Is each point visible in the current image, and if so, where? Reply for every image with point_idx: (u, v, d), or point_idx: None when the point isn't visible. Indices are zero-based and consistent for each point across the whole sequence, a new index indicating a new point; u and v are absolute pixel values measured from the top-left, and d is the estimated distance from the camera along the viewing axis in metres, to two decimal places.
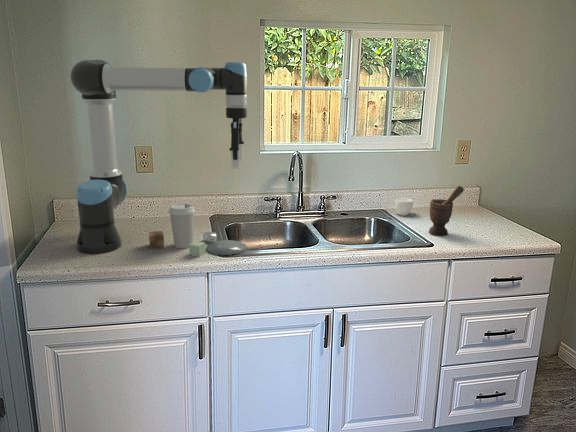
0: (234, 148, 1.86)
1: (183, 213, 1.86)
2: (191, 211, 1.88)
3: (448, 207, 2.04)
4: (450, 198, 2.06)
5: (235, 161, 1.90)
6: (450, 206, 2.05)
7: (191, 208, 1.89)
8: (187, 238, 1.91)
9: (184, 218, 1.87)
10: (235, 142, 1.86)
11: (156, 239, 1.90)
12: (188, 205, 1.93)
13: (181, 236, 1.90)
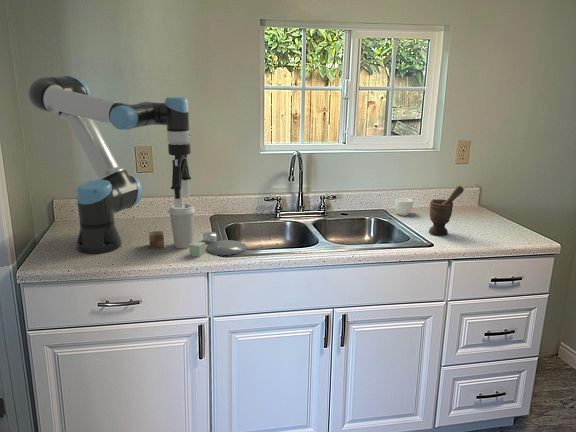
0: (175, 187, 1.78)
1: (183, 213, 1.86)
2: (191, 211, 1.88)
3: (448, 207, 2.04)
4: (450, 198, 2.06)
5: (178, 200, 1.82)
6: (450, 206, 2.05)
7: (191, 208, 1.89)
8: (187, 238, 1.91)
9: (184, 218, 1.87)
10: (176, 181, 1.78)
11: (156, 239, 1.90)
12: (188, 205, 1.93)
13: (181, 236, 1.90)
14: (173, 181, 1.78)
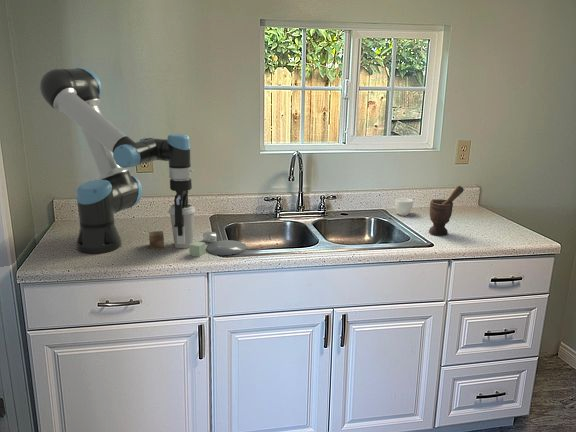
0: (178, 226, 1.84)
1: (183, 213, 1.86)
2: (191, 211, 1.88)
3: (448, 207, 2.04)
4: (450, 198, 2.06)
5: (180, 237, 1.88)
6: (450, 206, 2.05)
7: (191, 208, 1.89)
8: (187, 238, 1.91)
9: (184, 218, 1.87)
10: (179, 220, 1.84)
11: (156, 239, 1.90)
12: (188, 205, 1.93)
13: None
14: (176, 220, 1.84)
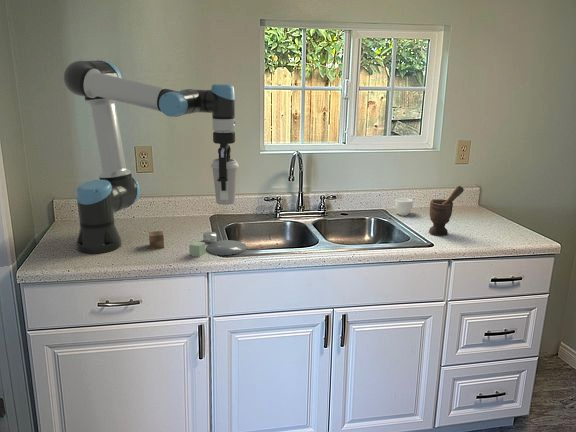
0: (222, 179, 1.77)
1: (227, 167, 1.79)
2: (235, 165, 1.81)
3: (448, 207, 2.04)
4: (450, 198, 2.06)
5: (223, 192, 1.81)
6: (450, 206, 2.05)
7: (235, 162, 1.81)
8: (230, 194, 1.83)
9: (228, 172, 1.80)
10: (223, 173, 1.76)
11: (156, 239, 1.90)
12: (231, 160, 1.85)
13: None
14: (220, 173, 1.76)
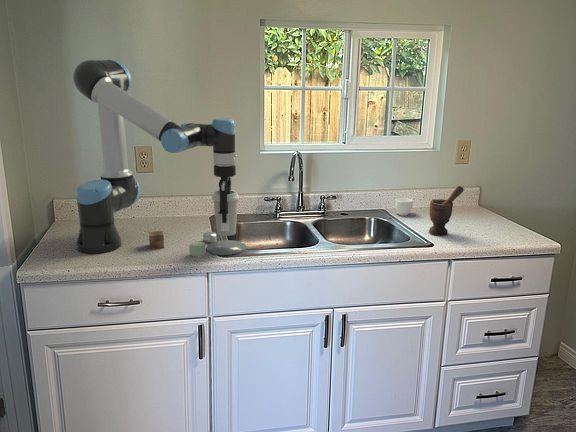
0: (223, 212, 1.80)
1: (228, 199, 1.82)
2: (235, 197, 1.84)
3: (448, 207, 2.04)
4: (450, 198, 2.06)
5: (224, 224, 1.84)
6: (450, 206, 2.05)
7: (235, 194, 1.84)
8: (231, 225, 1.86)
9: (228, 204, 1.83)
10: (224, 206, 1.80)
11: (156, 239, 1.90)
12: (231, 192, 1.88)
13: None
14: (221, 206, 1.80)
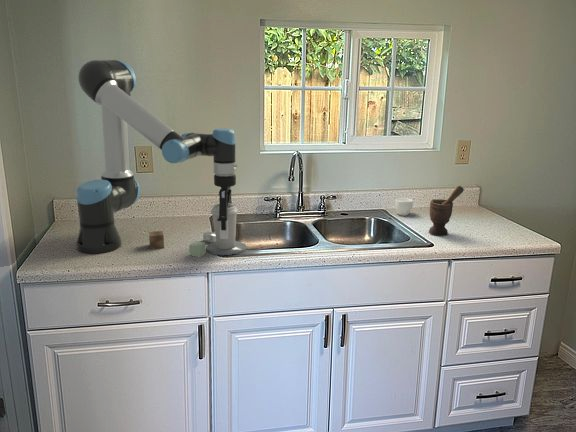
0: (222, 219, 1.78)
1: None
2: (234, 211, 1.85)
3: (448, 207, 2.04)
4: (450, 198, 2.06)
5: (223, 231, 1.82)
6: (450, 206, 2.05)
7: (234, 208, 1.86)
8: (230, 238, 1.88)
9: (227, 218, 1.84)
10: (223, 213, 1.78)
11: (156, 239, 1.90)
12: (230, 205, 1.90)
13: None
14: (220, 213, 1.78)
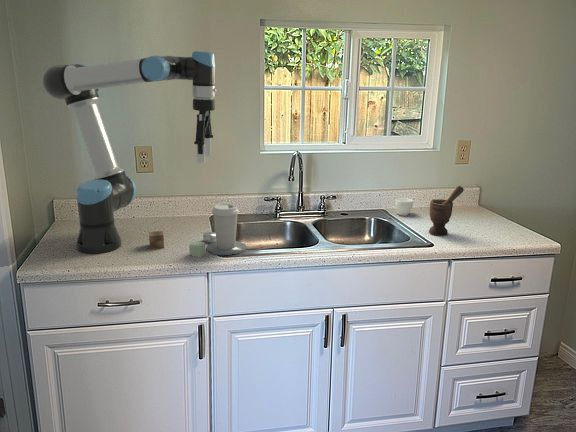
0: (199, 142, 1.77)
1: (228, 214, 1.83)
2: (235, 211, 1.85)
3: (448, 207, 2.04)
4: (450, 198, 2.06)
5: (200, 155, 1.81)
6: (450, 206, 2.05)
7: (235, 208, 1.86)
8: (230, 239, 1.88)
9: (228, 218, 1.84)
10: (200, 135, 1.77)
11: (156, 239, 1.90)
12: (231, 205, 1.90)
13: (225, 237, 1.87)
14: (197, 135, 1.77)
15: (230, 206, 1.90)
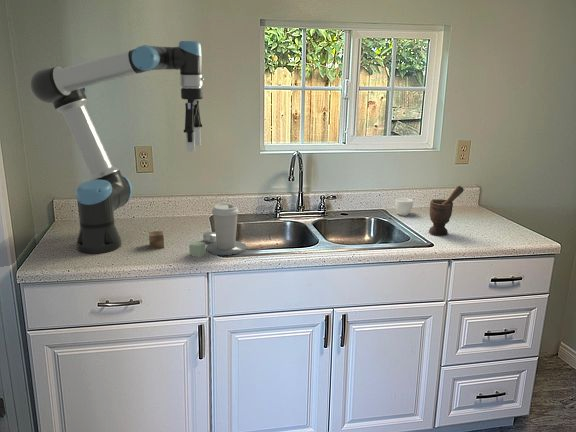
0: (188, 130, 1.79)
1: (227, 214, 1.83)
2: (235, 211, 1.85)
3: (448, 207, 2.04)
4: (450, 198, 2.06)
5: (190, 143, 1.84)
6: (450, 206, 2.05)
7: (235, 208, 1.86)
8: (230, 239, 1.88)
9: (228, 218, 1.84)
10: (189, 123, 1.80)
11: (156, 239, 1.90)
12: (231, 205, 1.90)
13: (225, 237, 1.87)
14: (186, 124, 1.80)
15: (230, 206, 1.90)
